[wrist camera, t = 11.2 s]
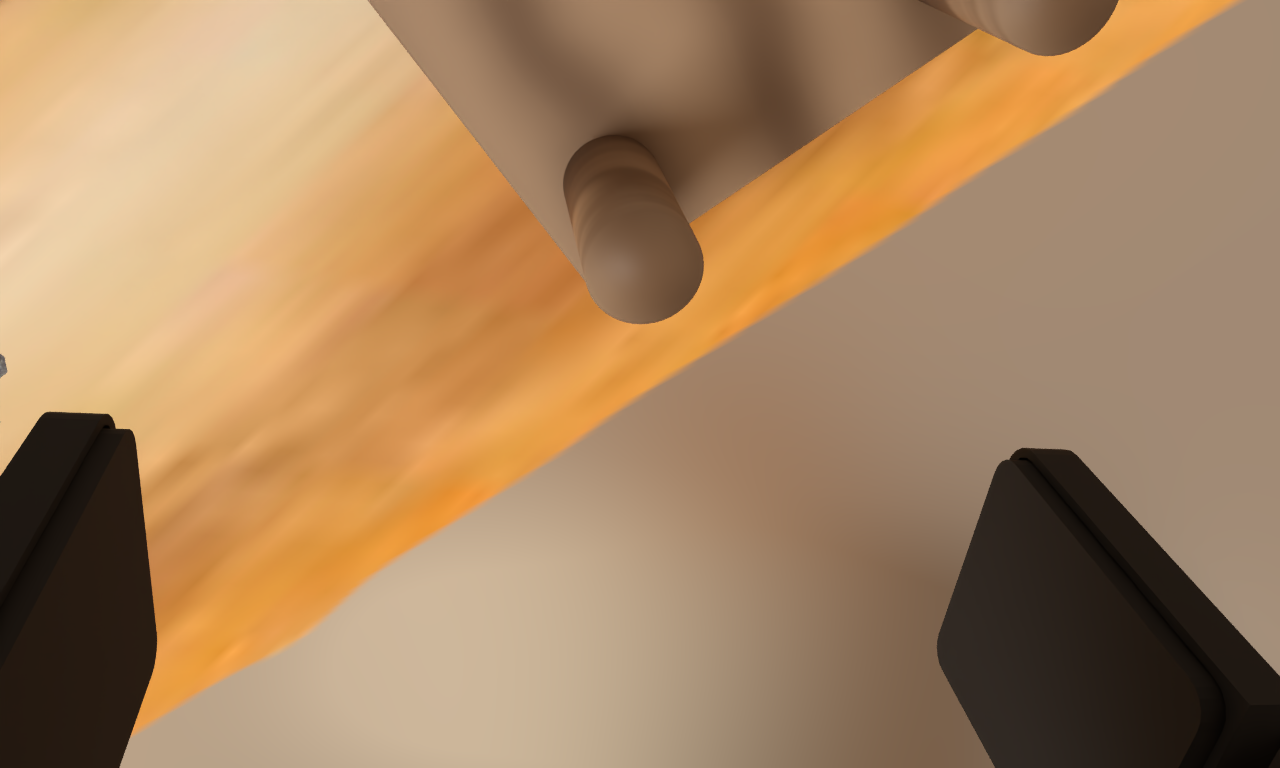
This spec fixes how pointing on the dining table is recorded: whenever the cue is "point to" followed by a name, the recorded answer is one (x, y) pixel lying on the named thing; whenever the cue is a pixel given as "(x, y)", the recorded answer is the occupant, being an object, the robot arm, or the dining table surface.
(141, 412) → the dining table surface
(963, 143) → the dining table surface
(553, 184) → the stool
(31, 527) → the robot arm
